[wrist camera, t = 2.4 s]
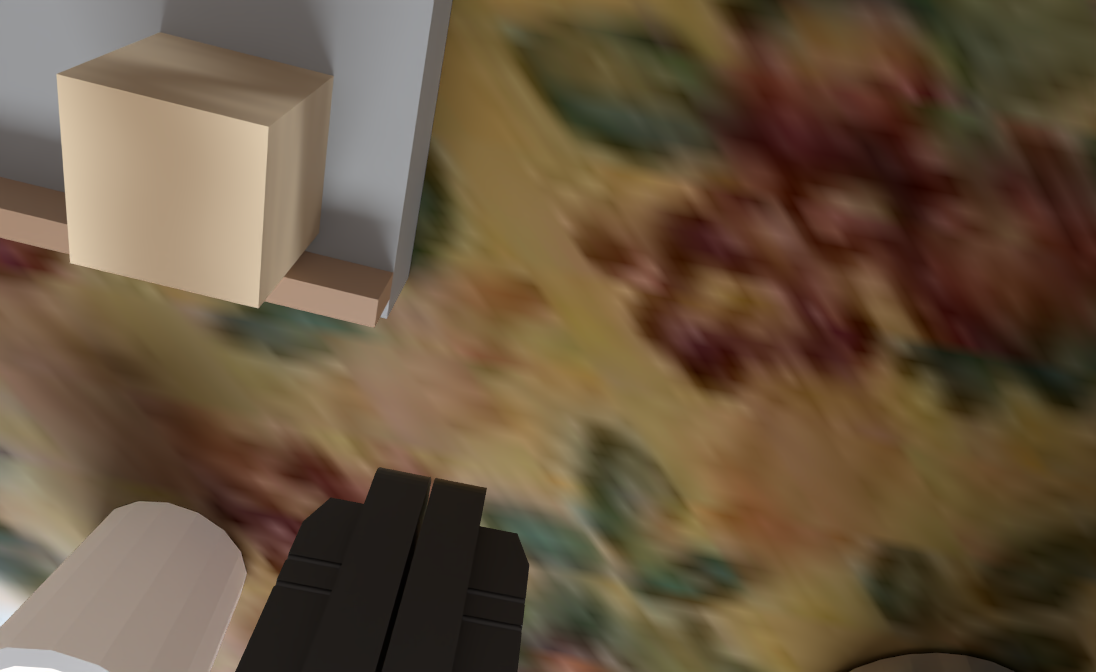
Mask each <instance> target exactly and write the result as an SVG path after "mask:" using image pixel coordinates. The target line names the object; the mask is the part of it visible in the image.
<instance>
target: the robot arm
mask: <svg viewBox="0 0 1096 672" xmlns="http://www.w3.org/2000/svg"><path fill="white" fill-rule="evenodd" d="M430 485H431V477H426V476H421V475H416V474H411V473H406V472H401V471H396V470H391V469H386V468H381V467H379V468H378V469H377V471H376V473H375V476H374V479H373V481H372V484H371V487H370V489H369V492H368V495H367V497H366V500H365V503H364V504H361V503H356V502H351V501H346V500H340V499H335V498H330V499H329V500H327V501H326V502H325V503H324V504H323V505H322V506H321V507H319V508H318V509H317V510H316V511H315V512H314V513H312V514H311V515H310V516H309V517H308V518H307V519H306V520H304V521H303V523H302V525H301V527H300V529H299V532H298V534H297V536H296V538H295V540H294V543H293V545H292V547H291V549H290V552H289V555H288V559H287V560H285V563H284V565H283V567H282V569H281V572H280V574H279V576H278V578H277V582H276V585H275V586H274V587H273V589H272V591H271V594H270V596H269V598H268V600H267V603H266V605H265V607H264V609H263V611H262V614H261V616H260V618H259V620H258V623H257V625H256V627H255V629H254V631H253V634H252V636H251V638H250V640H249V642H248V645H247V647H246V649H245V651H244V654H243V656H242V658H241V660H240V662H239V665H238V667H237V669H236V671H235V672H517V670H518V661H519V652H520V643H521V634H522V633H521V630H522V625H523V616H524V607H525V605H524V603H525V598H526V589H527V581H528V572H529V563H528V561H527V558H526V555H525V553H524V550H523V547H522V545H521V542H520V540H519V537H518V534H517V533H512V532H506V531H501V530H496V529H491V528H486V527H481V526H480V521H481V516H482V511H483V506H484V500H485V495H486V490H487V488H484V487H479V486H474V485H468V484H463V483H458V482H453V481H448V480H443V479H438V478H435V480H434V483H433V487H432V491H431V494H430V498H429V501H428V497H429V491H430ZM427 503H428V505H427ZM849 672H1014V671H1012V670H1010V669H1008V668H1005V667H1003V666H1001V665H998V664H996V663H994V662H991V661H987V660H983V659H979V658H975V657H971V656H966V655H956V654H945V653H925V654H908V655H903V656H897V657H892V658H887V659H881V660H878V661H875V662H873V663H870V664H867V665H864V666H861V667H858V668H855V669H853V670H851V671H849Z"/></svg>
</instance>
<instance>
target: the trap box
mask: <svg viewBox="0 0 1096 672" xmlns="http://www.w3.org/2000/svg"><path fill="white" fill-rule="evenodd" d="M451 7H452V0H0V238H4V239H8V240H13V241H17V242H21V243H25V244H29V245H33V246H37V247H42V248H46V249H50V250H54V251H58V252H62V253H67V254H70V253H69V239H68V226H67V212H66V199H65V185H64V171H63V158H62V144H61V130H60V117H59V103H58V89H57V76H56V74H58V73H60V72H63V71H65V70H67V69H70V68H72V67H75V66H77V65H80V64H82V63H85V62H87V61H90V60H92V59H95V58H97V57H100V56H102V55H105V54H107V53H110V52H112V51H115V50H117V49H120V48H122V47H125V46H127V45H130V44H132V43H135V42H137V41H140V40H142V39H144V38H147V37H149V36H152V35H154V34H157V33H159V32H161V33H165V34H169V35H173V36H177V37H181V38H185V39H189V40H193V41H197V42H201V43H205V44H209V45H213V46H217V47H221V48H225V49H229V50H233V51H237V52H241V53H245V54H249V55H253V56H257V57H261V58H265V59H269V60H273V61H276V62H280V63H284V64H288V65H292V66H296V67H300V68H304V69H308V70H312V71H316V72H320V73H324V74H328V75H332V76H334V80H333V90H332V101H331V111H330V122H329V132H328V143H327V154H326V164H325V175H324V185H323V196H322V206H321V217H320V227H319V234H318V235H317V236H316V237H315V239H314V240H313V241H312V242H311V243H310V245H309V246H308V247H307V248H306V250H305V251H304V252H303V253H302V255H301V256H300V257H299V258H298V260H297V261H296V262H295V263H294V265H293V266H292V267H291V268H290V270H289V271H288V272H287V273H286V275H285V276H284V277H283V278H282V280H281V281H280V282H279V283H278V284H277V286H276V287H275V288H274V289H273V291H272V292H271V293H270V294H269V296H268V297H267V298H266V299H265V301H266V302H270V303H274V304H278V305H282V306H286V307H291V308H295V309H299V310H303V311H307V312H311V313H316V314H320V315H324V316H328V317H332V318H336V319H340V320H345V321H349V322H353V323H357V324H361V325H365V326H370V327H374V328H375V326H376V324H377V322H378V320H379V318H380V317H382V318H386V319H387V317H388V315H389V313H390V311H391V310H392V308H393V306H394V304H395V302H396V300H397V298H398V296H399V294H400V292H401V290H402V288H403V286H404V285H405V283H406V281H407V279H408V276H409V270H410V264H411V258H412V251H413V245H414V239H415V233H416V226H417V220H418V214H419V207H420V201H421V195H422V189H423V182H424V176H425V170H426V164H427V157H428V151H429V145H430V138H431V132H432V126H433V120H434V113H435V107H436V101H437V95H438V88H439V82H440V76H441V69H442V63H443V57H444V51H445V44H446V38H447V32H448V26H449V19H450V13H451Z"/></svg>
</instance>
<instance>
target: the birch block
mask: <svg viewBox="0 0 1096 672" xmlns="http://www.w3.org/2000/svg"><path fill="white" fill-rule="evenodd" d="M56 76H57V89H58V103H59V117H60V130H61V144H62V158H63V171H64V185H65V199H66V212H67V226H68V239H69V253H70V263H72V264H76V265H81V266H85V267H89V268H93V269H97V270H101V271H105V272H110V273H114V274H118V275H122V276H126V277H130V278H135V279H139V280H143V281H147V282H151V283H155V284H160V285H164V286H168V287H172V288H176V289H180V290H184V291H189V292H193V293H197V294H201V295H205V296H209V297H214V298H218V299H222V300H226V301H230V302H234V303H238V304H243V305H247V306H251V307H255V308H259V307H260V306H261V304H262V303H263V302H264V301H265V299H266V298H267V297H268V296H269V294H270V293H271V292H272V291H273V289H274V288H275V287H276V286H277V284H278V283H279V282H280V281H281V280H282V278H283V277H284V276H285V275H286V273H287V272H288V271H289V270H290V268H291V267H292V266H293V265H294V263H295V262H296V261H297V260H298V258H299V257H300V256H301V255H302V253H303V252H304V251H305V250H306V248H307V247H308V246H309V245H310V243H311V242H312V241H313V240H314V239H315V237H316V236H317V235H318V234H319V227H320V217H321V206H322V196H323V185H324V175H325V164H326V154H327V143H328V132H329V122H330V111H331V101H332V90H333V80H334V76H332V75H328V74H324V73H320V72H316V71H312V70H308V69H304V68H300V67H296V66H292V65H288V64H284V63H280V62H276V61H273V60H269V59H265V58H261V57H257V56H253V55H249V54H245V53H241V52H237V51H233V50H229V49H225V48H221V47H217V46H213V45H209V44H205V43H201V42H197V41H193V40H189V39H185V38H181V37H177V36H173V35H169V34H165V33H161V32H159V33H157V34H154V35H152V36H149V37H147V38H144V39H142V40H140V41H137V42H135V43H132V44H130V45H127V46H125V47H122V48H120V49H117V50H115V51H112V52H110V53H107V54H105V55H102V56H100V57H97V58H95V59H92V60H90V61H87V62H85V63H82V64H80V65H77V66H75V67H72V68H70V69H67V70H65V71H63V72H60V73H58V74H56Z"/></svg>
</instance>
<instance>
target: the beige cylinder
mask: <svg viewBox="0 0 1096 672" xmlns="http://www.w3.org/2000/svg"><path fill="white" fill-rule="evenodd" d="M246 575H247V572H246V568H245V565H244V561H243V557H242V554H241V551H240V550H239V549H238V547H237V546H236V545H235V544H234V542H233V541H232V540H231V538H230V537H229V536H228V535H227V533H226V532H225V531H224V530H223V529H221V528H220V527H218V526H217V525H215V524H214V523H213V522H211V521H210V520H208V519H207V518H205V517H204V516H202V515H201V514H199V513H197V512H194V511H191V510H188V509H186V508H183V507H180V506H177V505H174V504H171V503H167V502H145V501H138V502H134V503H131V504H128V505H125V506H122V507H119V508H116V509H114V510H113V511H112V512H111V513H110V514H109V515H108V516H107V517H106V518H105V519H104V520H103V521H102V522H101V523H100V525H99V526H98V527H97V528H96V529H95V530H94V531H93V532H92V533H91V534H90V535H89V536H88V537H87V538H86V539H85V540H84V541H83V542H82V543H81V544H80V545H79V546H78V547H77V548H76V549H75V550H74V551H73V553H72V554H71V555H70V556H69V557H68V558H67V559H66V560H65V561H64V562H63V563H62V564H61V565H60V566H59V567H58V568H57V569H56V570H55V571H54V572H53V573H52V574H51V575H50V576H49V577H48V578H47V580H46V581H45V582H44V583H43V584H42V585H41V586H40V587H39V588H38V589H37V590H36V591H35V592H34V593H33V594H32V595H31V596H30V597H29V598H28V599H27V600H26V601H25V602H24V603H23V604H22V605H21V606H20V608H19V609H18V610H17V611H16V612H15V613H14V614H13V615H12V616H11V617H10V618H9V619H8V620H7V621H6V622H5V623H4V624H3V625H2V626H1V627H0V672H210V671H211V668H212V666H213V663H214V661H215V658H216V656H217V653H218V650H219V648H220V645H221V643H222V640H223V638H224V635H225V633H226V630H227V628H228V625H229V623H230V620H231V618H232V615H233V612H234V610H235V607H236V605H237V602H238V600H239V597H240V595H241V592H242V589H243V585H244V582H245V578H246Z"/></svg>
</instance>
